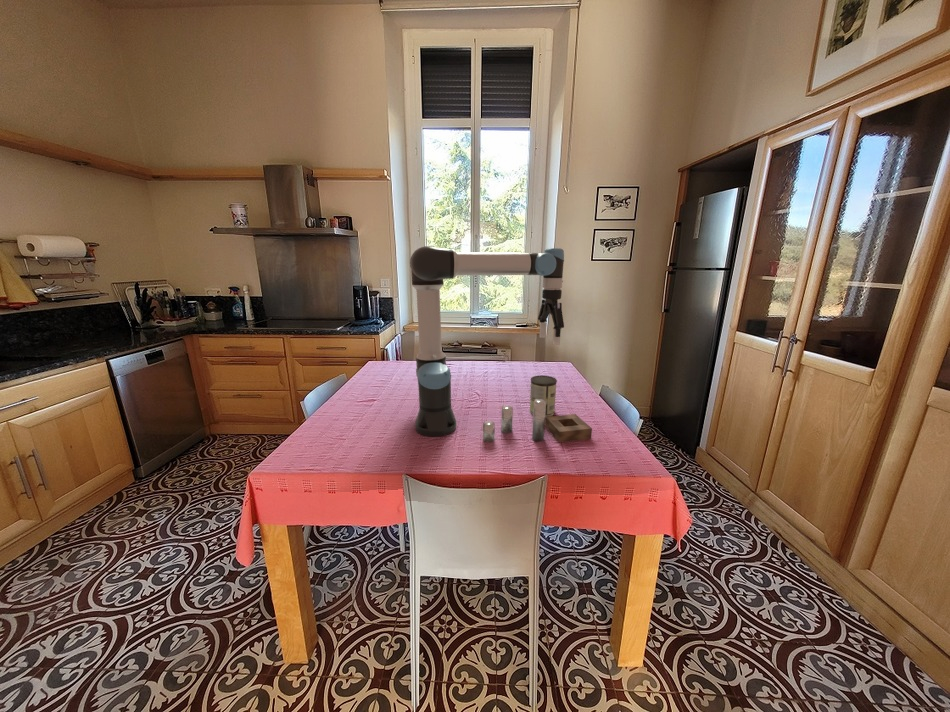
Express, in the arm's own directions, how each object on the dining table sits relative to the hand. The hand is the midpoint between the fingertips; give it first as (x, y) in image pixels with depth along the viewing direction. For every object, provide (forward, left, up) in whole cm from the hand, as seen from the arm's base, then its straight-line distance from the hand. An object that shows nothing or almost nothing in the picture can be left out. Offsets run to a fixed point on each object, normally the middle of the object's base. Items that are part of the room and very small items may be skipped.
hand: (549, 340), depth 146 cm
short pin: (-32, -26, -28) cm, 50 cm away
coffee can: (-5, -8, -28) cm, 29 cm away
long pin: (-15, -29, -28) cm, 43 cm away
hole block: (-3, -27, -28) cm, 39 cm away
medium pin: (-24, -21, -28) cm, 42 cm away
